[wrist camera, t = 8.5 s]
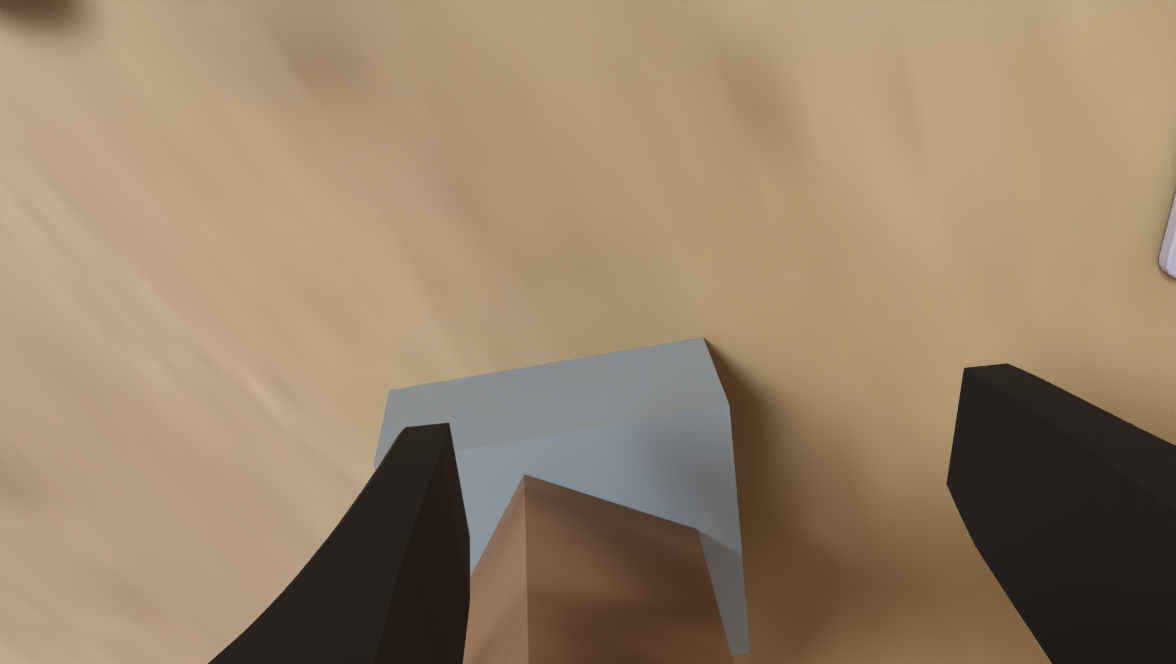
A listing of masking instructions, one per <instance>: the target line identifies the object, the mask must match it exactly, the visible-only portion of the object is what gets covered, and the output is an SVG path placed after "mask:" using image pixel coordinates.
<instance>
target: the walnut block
mask: <svg viewBox="0 0 1176 664" xmlns="http://www.w3.org/2000/svg"><path fill="white" fill-rule="evenodd" d="M463 664H733V660H732V656H731V652H730V649H729V645H728V641H727V638H726V634H725V630H724V626H723V623H722V619H721V615H720V611H719V608H718V604H717V600H716V597H715V593H714V589H713V585H712V582H711V578H710V574H709V570H708V567H707V563H706V559H705V556H704V552H703V548H702V544H701V541H700V537H699V533H698V529H695V528H692V527H689V526H686V525H683V524H680V523H676V522H673V521H670V520H667V519H664V518H661V517H657V516H654V515H651V514H648V513H645V512H642V511H638V510H635V509H632V508H629V507H626V506H623V505H620V504H616V503H613V502H610V501H607V500H604V499H601V498H597V497H594V496H591V495H588V494H585V493H582V492H579V491H575V490H572V489H569V488H566V487H563V486H560V485H556V484H553V483H550V482H547V481H544V480H541V479H538V478H534V477H531V476H528V475H525V474H524V476H523V478H522V479H521V481H520V483H519V485H518V487H517V489H516V491H515V493H514V495H513V497H512V498H511V500H510V502H509V504H508V506H507V508H506V510H505V512H504V514H503V516H502V517H501V519H500V521H499V523H498V525H497V527H496V529H495V531H494V533H493V535H492V536H491V538H490V540H489V542H488V544H487V546H486V548H485V550H484V552H483V554H482V555H481V557H480V559H479V561H478V563H477V565H476V567H475V569H474V571H473V573H472V574H471V576H470V606H469V615H468V624H467V632H466V641H465V649H464V658H463Z"/></svg>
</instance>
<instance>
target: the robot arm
mask: <svg viewBox="0 0 1176 664" xmlns="http://www.w3.org/2000/svg"><path fill="white" fill-rule="evenodd" d="M1159 265H1160V267H1161V269H1162V270H1163V271H1165V272H1166V273H1168V274H1170V275H1171V276H1173V277H1174V278H1176V194H1175V198H1174V201H1173V205H1172V209H1171V213H1170V217H1169V221H1168V225H1167V229H1166V233H1165V237H1164V240H1163V244H1162V248H1161V252H1160V256H1159ZM947 486H948V488H949V491H950V493H951V495H952V497H953V500H954V502H955V504H956V506H957V509H958V511H959V513H960V515H961V518H962V520H963V522H964V524H965V526H966V528H967V530H968V532H969V534H970V536H971V538H972V540H973V542H974V544H975V546H976V548H977V549H978V551H979V552H980V554H981V556H982V557H983V559H984V560H985V562H986V563H987V565H988V567H989V568H990V570H991V571H992V573H993V574H994V576H995V577H996V579H997V580H998V582H999V584H1000V585H1001V587H1002V588H1003V590H1004V591H1005V593H1006V594H1007V596H1008V597H1009V599H1010V600H1011V602H1012V603H1013V605H1014V606H1015V608H1016V609H1017V611H1018V612H1019V614H1020V615H1021V617H1022V618H1023V620H1024V622H1025V623H1026V625H1027V626H1028V628H1029V629H1030V631H1031V632H1032V634H1033V635H1034V637H1035V638H1036V640H1037V641H1038V643H1039V644H1040V646H1041V647H1042V649H1043V650H1044V652H1045V653H1046V655H1047V656H1048V658H1049V659H1050V661H1051V662H1052V664H1176V446H1175V445H1173V444H1171V443H1169V442H1167V441H1165V440H1162V439H1160V438H1158V437H1156V436H1154V435H1152V434H1150V433H1148V432H1146V431H1144V430H1142V429H1140V428H1138V427H1136V426H1134V425H1132V424H1130V423H1128V422H1126V421H1124V420H1122V419H1120V418H1118V417H1116V416H1114V415H1112V414H1110V413H1108V412H1106V411H1104V410H1102V409H1100V408H1098V407H1096V406H1094V405H1092V404H1090V403H1088V402H1087V401H1085V400H1083V399H1081V398H1079V397H1077V396H1075V395H1073V394H1071V393H1069V392H1067V391H1065V390H1063V389H1061V388H1059V387H1057V386H1055V385H1053V384H1051V383H1049V382H1047V381H1045V380H1043V379H1041V378H1039V377H1037V376H1035V375H1033V374H1030V373H1028V372H1026V371H1024V370H1022V369H1019V368H1017V367H1014V366H1012V365H1010V364H998V365H988V366H979V367H969V368H964V372H963V379H962V386H961V392H960V399H959V405H958V412H957V419H956V425H955V432H954V438H953V445H952V452H951V458H950V465H949V472H948V478H947ZM469 606H470V534H469V529H468V523H467V518H466V512H465V507H464V501H463V496H462V490H461V484H460V479H459V473H458V468H457V462H456V457H455V451H454V446H453V440H452V435H451V429H450V424H449V423H440V424H430V425H421V426H411V427H405V428H404V429H403V430H402V431H401V432H400V434H399V435H398V436H397V438H396V439H395V441H394V443H393V444H392V446H391V447H390V449H389V450H388V452H387V454H386V455H385V457H384V458H383V460H382V462H381V463H380V465H379V466H378V468H377V469H376V471H375V472H374V474H373V475H372V477H371V478H370V480H369V481H368V483H367V484H366V486H365V487H364V489H363V490H362V492H361V493H360V494H359V496H358V497H357V499H356V500H355V501H354V503H353V504H352V506H351V507H350V508H349V510H348V511H347V513H346V514H345V515H344V517H343V518H342V520H341V521H340V522H339V524H338V525H337V526H336V528H335V529H334V530H333V532H332V533H331V534H330V536H329V537H328V538H327V539H326V541H325V542H324V543H323V544H322V545H321V547H320V548H319V549H318V550H317V552H316V553H315V554H314V555H313V557H312V558H311V559H310V560H309V562H308V563H307V564H306V565H305V566H304V568H303V569H302V570H301V571H300V573H299V574H298V575H297V576H296V577H295V578H294V580H293V581H292V582H291V583H290V584H289V585H288V586H287V587H286V589H285V590H284V591H283V592H282V593H281V594H280V595H279V596H278V597H277V598H276V600H275V601H274V602H273V603H272V604H271V605H270V606H269V607H268V608H267V609H266V610H265V611H264V612H263V613H262V614H261V615H260V616H259V617H258V618H257V619H256V620H255V621H254V622H253V623H252V624H251V625H250V626H249V627H248V628H247V629H246V630H245V631H244V632H243V633H242V634H241V635H240V636H239V637H238V638H236V639H235V640H234V641H233V642H232V643H231V644H230V645H229V646H227V647H226V648H225V649H224V650H223V651H222V652H221V653H219V654H218V655H217V656H216V657H215V658H214V659H213V660H212V661H210V662H209V663H208V664H463V658H464V649H465V641H466V632H467V624H468V615H469Z"/></svg>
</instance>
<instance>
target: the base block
mask: <svg viewBox="0 0 1176 664" xmlns="http://www.w3.org/2000/svg"><path fill="white" fill-rule="evenodd" d="M440 423H449V424H450V429H451V435H452V440H453V446H454V451H455V457H456V462H457V468H458V473H459V479H460V484H461V490H462V496H463V501H464V507H465V512H466V518H467V523H468V529H469V534H470V576H471V574H472V573H473V571H474V569H475V567H476V565H477V563H478V561H479V559H480V557H481V555H482V554H483V552H484V550H485V548H486V546H487V544H488V542H489V540H490V538H491V536H492V535H493V533H494V531H495V529H496V527H497V525H498V523H499V521H500V519H501V517H502V516H503V514H504V512H505V510H506V508H507V506H508V504H509V502H510V500H511V498H512V497H513V495H514V493H515V491H516V489H517V487H518V485H519V483H520V481H521V479H522V478H523V476H524V474H525V475H528V476H531V477H534V478H538V479H541V480H544V481H547V482H550V483H553V484H556V485H560V486H563V487H566V488H569V489H572V490H575V491H579V492H582V493H585V494H588V495H591V496H594V497H597V498H601V499H604V500H607V501H610V502H613V503H616V504H620V505H623V506H626V507H629V508H632V509H635V510H638V511H642V512H645V513H648V514H651V515H654V516H657V517H661V518H664V519H667V520H670V521H673V522H676V523H680V524H683V525H686V526H689V527H692V528H695V529H698V533H699V537H700V541H701V544H702V548H703V552H704V556H705V559H706V563H707V567H708V570H709V574H710V578H711V582H712V585H713V589H714V593H715V597H716V600H717V604H718V608H719V611H720V615H721V619H722V623H723V626H724V630H725V634H726V638H727V641H728V645H729V649H730V652H731V656H737V655H743V654H749V653H751V650H750V638H749V627H748V615H747V603H746V592H745V580H744V568H743V557H742V545H741V534H740V522H739V510H738V499H737V487H736V475H735V464H734V452H733V440H732V429H731V417H730V406H729V403H728V400H727V398H726V395H725V393H724V390H723V387H722V385H721V382H720V380H719V377H718V374H717V372H716V369H715V367H714V364H713V361H712V359H711V356H710V354H709V351H708V348H707V346H706V343H705V341H704V338H703V337H702V338H696V339H690V340H684V341H678V342H673V343H667V344H661V345H655V346H649V347H643V348H637V349H631V350H625V351H619V352H613V353H608V354H602V355H596V356H590V357H584V358H578V359H572V360H566V361H560V362H554V363H548V364H543V365H537V366H531V367H525V368H519V369H513V370H507V371H501V372H495V373H489V374H484V375H478V376H472V377H466V378H460V379H454V380H448V381H442V382H436V383H430V384H424V385H419V386H413V387H407V388H401V389H395V390H389V395H388V400H387V405H386V409H385V414H384V419H383V423H382V428H381V433H380V438H379V442H378V447H377V452H376V457H375V461H374V468H375V471H376V469H377V468H378V466H379V465H380V463H381V462H382V460H383V458H384V457H385V455H386V454H387V452H388V450H389V449H390V447H391V446H392V444H393V443H394V441H395V439H396V438H397V436H398V435H399V434H400V432H401V431H402V430H403V429H404V428H405V427H411V426H421V425H430V424H440Z"/></svg>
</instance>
